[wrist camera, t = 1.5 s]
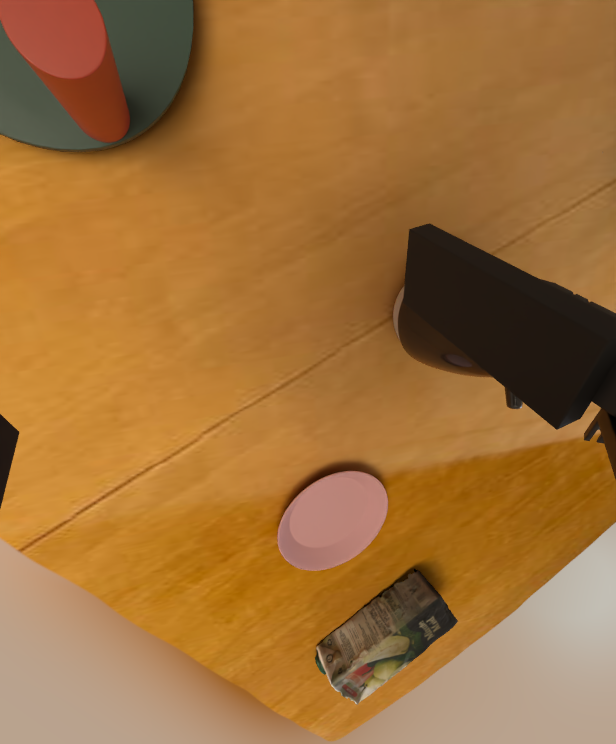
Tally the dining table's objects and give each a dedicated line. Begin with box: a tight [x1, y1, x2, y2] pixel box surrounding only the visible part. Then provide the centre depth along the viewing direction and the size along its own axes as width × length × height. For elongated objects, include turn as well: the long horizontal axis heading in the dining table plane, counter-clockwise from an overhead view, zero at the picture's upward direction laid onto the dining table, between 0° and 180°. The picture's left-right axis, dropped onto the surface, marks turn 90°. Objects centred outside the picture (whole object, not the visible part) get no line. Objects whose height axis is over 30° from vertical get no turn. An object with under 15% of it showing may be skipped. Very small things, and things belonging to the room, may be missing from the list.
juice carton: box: [315, 569, 458, 704], centre depth 53 cm, size 20×10×6 cm, turn 121°
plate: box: [277, 471, 388, 570], centre depth 44 cm, size 14×14×2 cm
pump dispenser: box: [393, 286, 523, 409], centre depth 32 cm, size 10×10×15 cm
